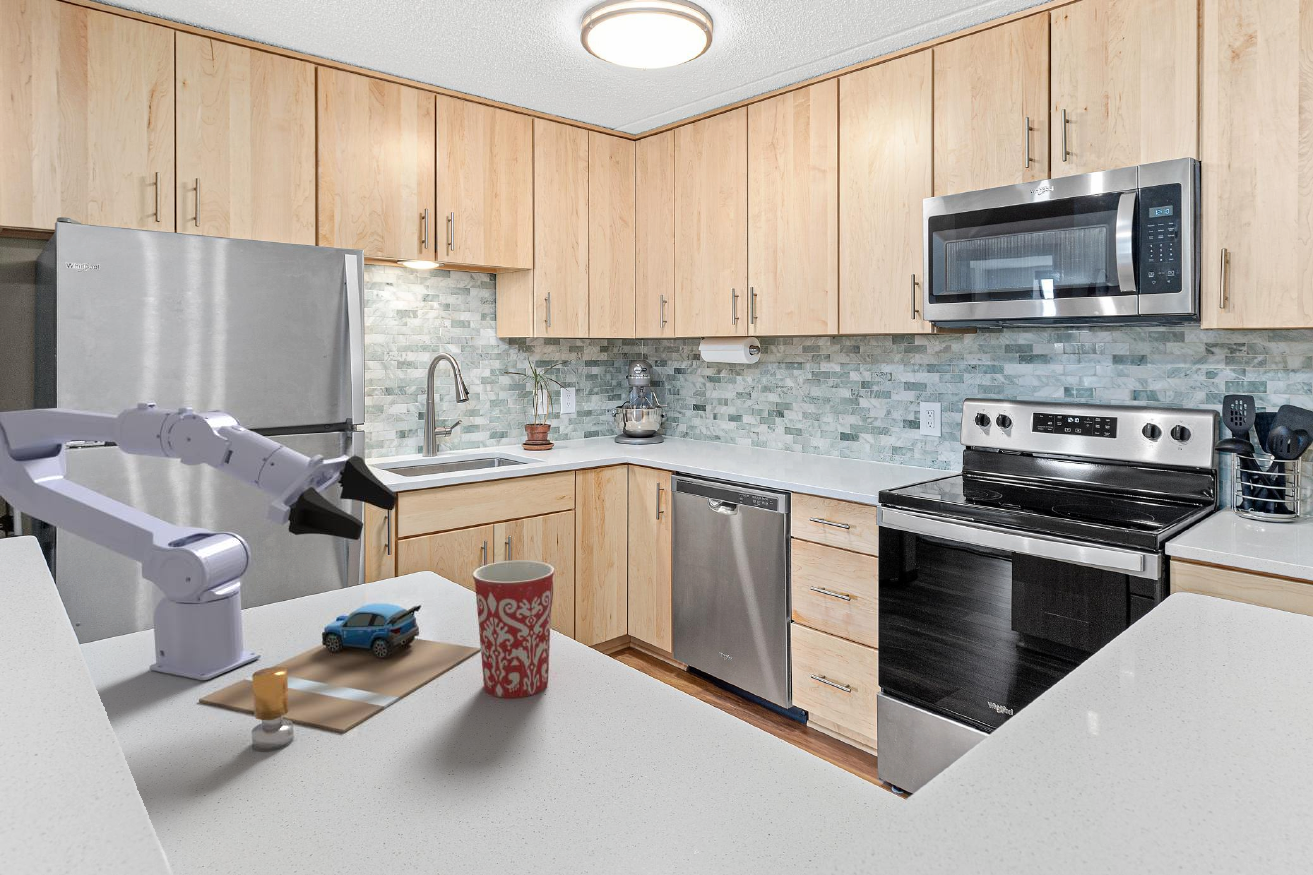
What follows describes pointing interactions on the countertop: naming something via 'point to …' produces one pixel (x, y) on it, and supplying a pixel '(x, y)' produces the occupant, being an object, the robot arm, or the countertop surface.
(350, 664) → the board
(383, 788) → the countertop surface
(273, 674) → the coffee tamper
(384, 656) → the toy car
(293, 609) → the countertop surface
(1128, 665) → the countertop surface
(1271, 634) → the countertop surface
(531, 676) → the mug
